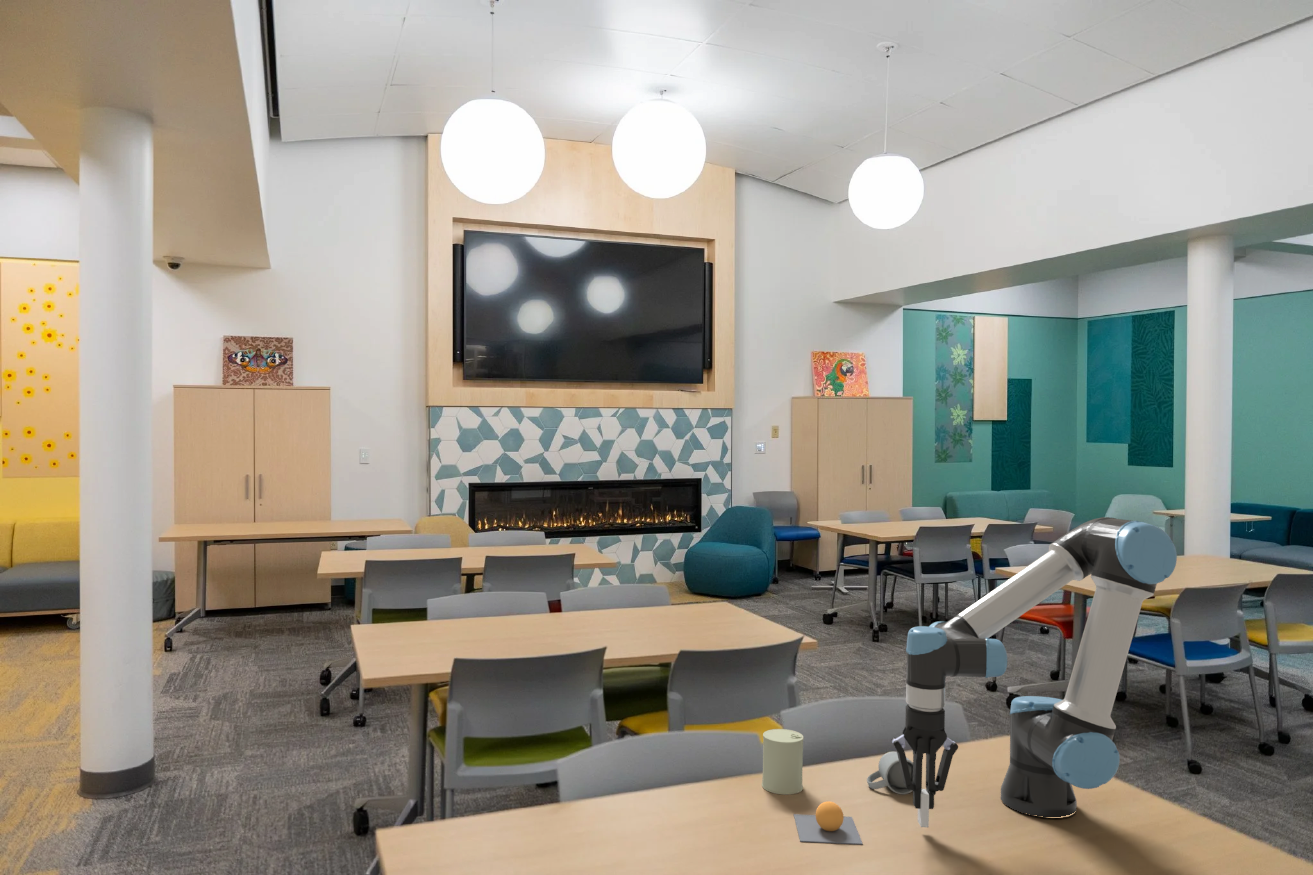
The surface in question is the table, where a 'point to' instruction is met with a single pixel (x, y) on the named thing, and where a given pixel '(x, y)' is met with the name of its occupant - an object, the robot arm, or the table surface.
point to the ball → (829, 816)
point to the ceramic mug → (890, 774)
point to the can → (782, 761)
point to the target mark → (815, 833)
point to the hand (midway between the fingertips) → (923, 824)
